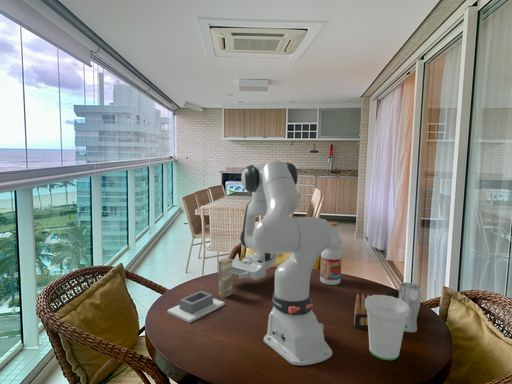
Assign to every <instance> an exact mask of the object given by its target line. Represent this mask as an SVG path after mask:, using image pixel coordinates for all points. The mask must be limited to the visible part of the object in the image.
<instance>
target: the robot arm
mask: <svg viewBox="0 0 512 384" xmlns="http://www.w3.org/2000/svg"><path fill="white" fill-rule="evenodd" d="M240 178H241V184H242V186H243V188H244V190H245V191H247V192H250V193H251V195H252V196H251V197H252V198H251V200H249V201H248V202H247V205H246V206H245V210H244V218H243V223H242V230H241V233H240V237H239V238H240V244H241V245H242V246H243V247H244V248H247V249H250V250H252V251H253V252H254V254H253V253H252V254H250V255H247V256H245V257H243V258H242V259H241V261H240V260H236V259H232V275H233V274H234V275H236V278H237V279H250V280H254V281H255V280H256V281H257V280H261V279H262V278H265V277H266V275H267V273H266V271H267V270H269V268H271V267H273V266H274V265H275V263H276V262H277V255H280V254H283V255H284V254H290V255H289V257H287V259H286V260H284V261H283V262H281V263H280V264H279V265H278V266H277V268H276V269H275V271H274V290H273V293H272V306H273V307H272V309H271V311H270V313H269V314H268V321H267V333H266V334H265V335H264V337H263V342H264V343H265V344H266V345H267V346H269V347H270V348H271V349H273V350H274V351H275V352H276V353H277V354H278V355H279V356H281V357H282V358H283V359H285V360H286V361H287V362H288V363H290V364H291V365H293V366H308V365H314V364H318V363H321V362H323V361H324V362H325V361H326V360H328V359H330V358H331V357H332V356H333V350H332V349H331V347H330V346H329V345H328V343H327V342H326V340H325V334H324V324H323V323H322V322H321V323H320V322H319V321H318V319H317V315H316V314H315V313H314V312H313V305H314V304H313V303H312V299H311V295H310V285H311V275H312V270H313V268H314V266H315V265H314V264H315V263H316V261H317V259H318V258H319V256H321V253H322V252H323V251H324V250H325V249H326V248H328V247H329V245H330V244H331V242H332V238H333V231H332V228H331V226H330V224H329V223H328V222H329V221H328V220H327V219H324V218H321V217H314V216H303V217H301V216H300V217H292V216H290V215H291V214H293V213H294V212H295V211H297V210H298V208H299V206H300V201H301V200H300V199H301V198H300V195H299V192H298V189H297V185H298V179H299V173H298V170H297V168H296V166H295V165H294V163H292V162H283V161H281V160H277V159H276V160H275V159H274V160H270V161H268V162H266V163H265V162H264V163H259V164H251V165H248V166H245V167H244V168H243V170H242V174H241V177H240ZM257 216H263V218H262V219H260V220H259V221H258V222H257V223H256V221H257Z"/></svg>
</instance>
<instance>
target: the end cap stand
mask: <svg viewBox="0 0 512 384" xmlns="http://www.w3.org/2000/svg"><path fill="white" fill-rule="evenodd" d="M225 304H226V303H225V301H222V300H220V299H217V298H214V294H211V293H209V292H206V291H203V290H199V291H197V292H194V293H192V294H190V295H188V296H184V297H183V298H181V299H179V304H178V305H175V306H173V307H171V308H168V309H167V311H166V313H167V314H169V315H172V316H174V317H176V318H178V319H180V320H182V321H184V322H186V323H188V324H190V323H192V322H194V321H196V320H198V319H200V318H202V317H204V316H206V315H207V314H210V313H211V312H213V311H216V310H218V309H220V308H221V307H224V306H225Z"/></svg>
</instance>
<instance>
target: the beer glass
mask: <svg viewBox="0 0 512 384" xmlns="http://www.w3.org/2000/svg"><path fill="white" fill-rule="evenodd" d="M398 291H399V294H398V299H400V300H402V301H404V302H406V303H407V304H408V305H409V308H410V311H409V315H408V316H407V317H406V322H405V327H404V332H406V333H412V334H414V333H416V332H417V331H418V326H417V320H418V319H417V318H418V314H419V311H420V307H421V301H422V287H421V286H420V285H418V284H416V283H413V282H407V281H406V282H401V283H399V288H398Z"/></svg>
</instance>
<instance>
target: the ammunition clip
mask: <svg viewBox="0 0 512 384" xmlns="http://www.w3.org/2000/svg"><path fill="white" fill-rule="evenodd" d="M373 295H375V294H373ZM373 295H372V296H373ZM369 296H370V294H369V293H367V296H366V297H365V294H364V293H362V296H361V298H360V295H359V293H357V295H356V299H355V303H354V304H355V305H354V314H353V321H352V322H353V324H352V326H353V328H354V329H360V330H368V316H367V310H366V308H365V299H366V298H367V297H369Z"/></svg>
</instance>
